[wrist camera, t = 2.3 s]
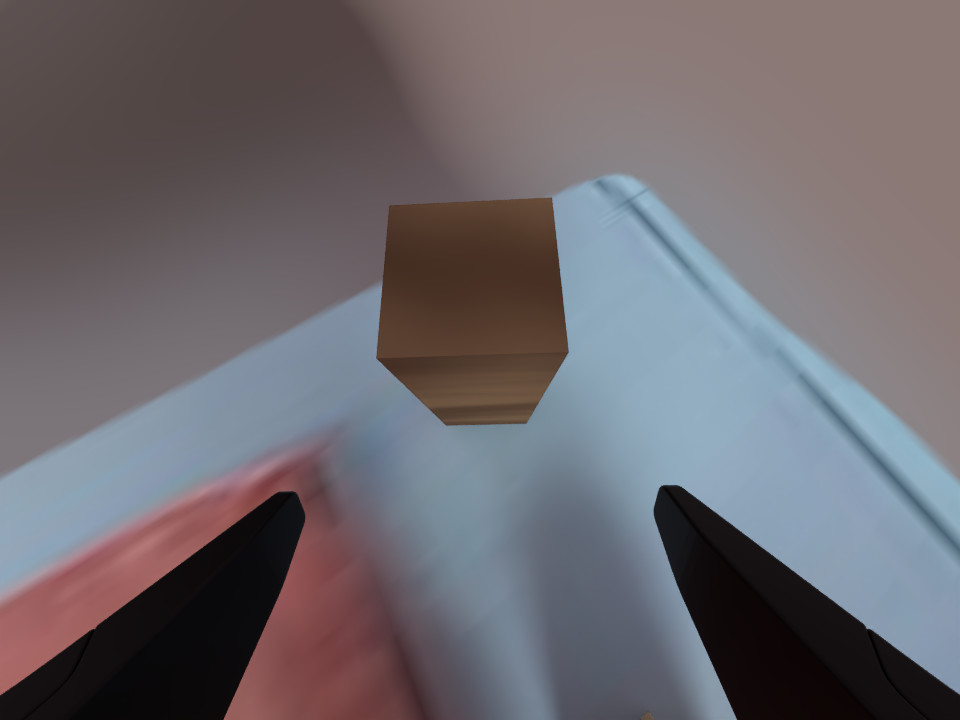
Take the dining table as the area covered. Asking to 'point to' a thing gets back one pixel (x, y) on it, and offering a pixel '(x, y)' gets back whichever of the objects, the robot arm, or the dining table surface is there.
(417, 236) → the walnut pillar
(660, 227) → the dining table surface
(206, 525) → the dining table surface
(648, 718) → the birch block
